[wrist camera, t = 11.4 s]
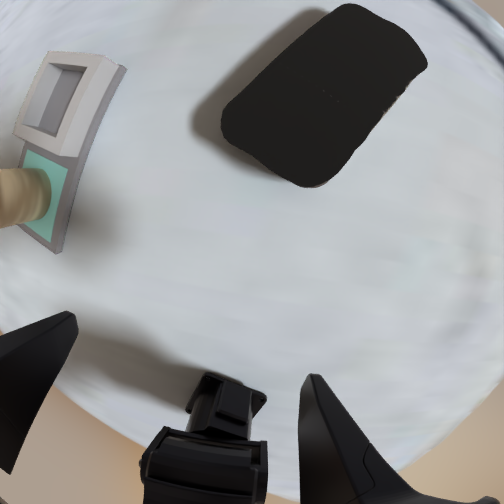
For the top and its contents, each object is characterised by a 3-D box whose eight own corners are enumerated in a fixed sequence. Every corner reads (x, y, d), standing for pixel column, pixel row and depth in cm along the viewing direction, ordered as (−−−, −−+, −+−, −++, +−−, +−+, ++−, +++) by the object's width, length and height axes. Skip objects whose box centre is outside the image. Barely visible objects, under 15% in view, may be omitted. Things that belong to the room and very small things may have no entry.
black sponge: (305, 202, 20) (313, 205, 16) (217, 130, 19) (207, 118, 15) (416, 72, 16) (436, 58, 13) (342, 12, 15) (352, -10, 12)
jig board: (61, 251, 22) (38, 261, 18) (14, 216, 21) (-8, 221, 18) (127, 69, 17) (107, 54, 14) (66, 60, 17) (46, 50, 14)
